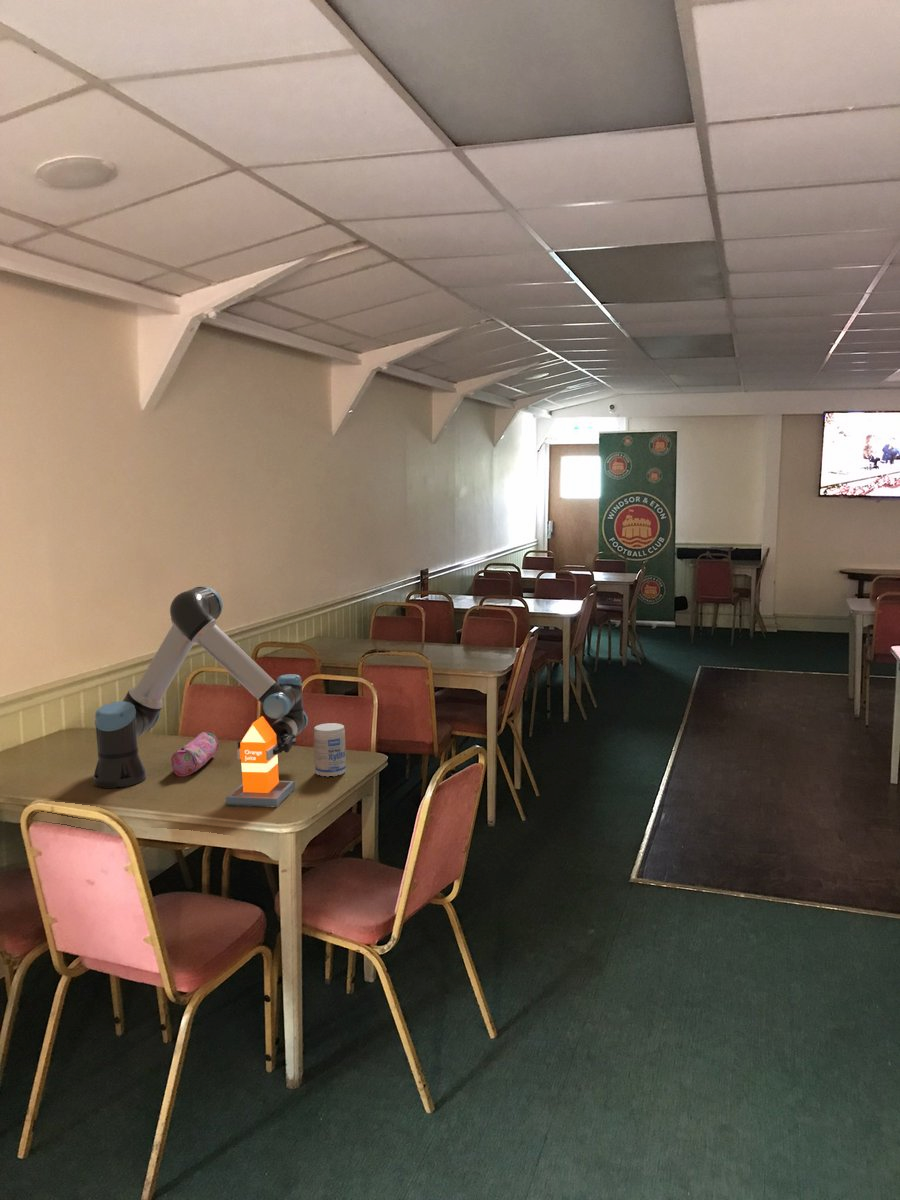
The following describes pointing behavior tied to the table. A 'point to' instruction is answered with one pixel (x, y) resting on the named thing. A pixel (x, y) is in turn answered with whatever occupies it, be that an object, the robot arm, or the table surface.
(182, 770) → the pencil case
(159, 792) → the table surface
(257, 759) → the orange juice
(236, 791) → the dish
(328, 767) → the supplement tub
